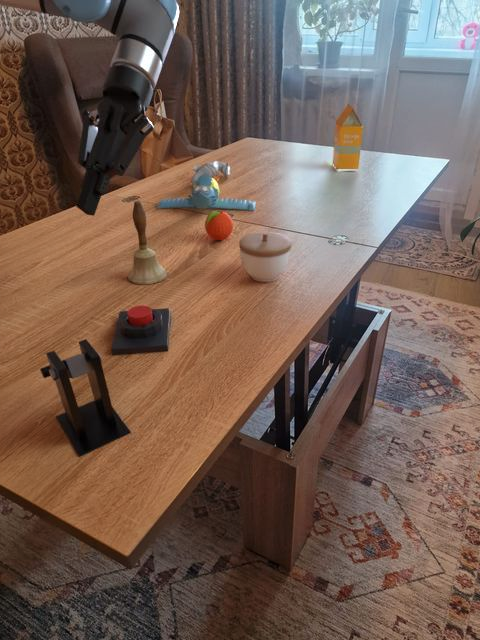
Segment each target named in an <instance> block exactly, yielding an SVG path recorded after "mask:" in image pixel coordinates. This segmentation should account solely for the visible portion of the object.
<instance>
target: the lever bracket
mask: <svg viewBox="0 0 480 640" xmlns="http://www.w3.org/2000/svg"><path fill="white" fill-rule="evenodd" d="M78 346H79V349H80V352H81V353H80V354H84V357H85V359H86V362H87V364H88V367H89V369H90V372H89V373H87V374H86V375H87V378H88V381H89V385H90V389H91V392H92V396H93V400H91V401H90V402H87V403H84V404H82V405H78V402H77V398H76V396H75V392H74V389H73V385H72V382H71V378H69V375H68V372H67V369H66V367H65V365H64V364H63V362H62V359H61V358H60V357H59V355H58V353H57V352H56V351H55V350H52V351H48V352H46V353H45V355H46V357H47V361H48V363H49V365H50V367H51V369H50V370H49V372H50V375H51V376H50V377H51V379H52V381H54V382H55V385H56V389H57V390H58V394H59V398H60V400H61V403H62V406H63V409H64V412H63V413H61V414H58V415H56V416H55V418H56V420H57V422H58V424H59V425H60V427H61V429H62V431H63V432H64V433H65V435H66V437H67V439H68V440H69V443H70V444H71V446H72V448H73V449H74V451H75V453H76V454H77V456H78V457H79V458H81V457H83V456H85V455H87V454H89V453H92V452H94V451H96V450H98V449H100V448H102V447H105V446H106V445H109V444H110V443H113V442H115V441H117V440H119V439H122V438H124V437H125V436H128V435H130V434H131V433H132V431H131V430H130V428H129V427H128V426H127V424H126V423H125V421H124V420H123V419H122V418H121V416H120V415H119V413H118V412H117V411H116V409H115V408H114V407H113V405H112V399H111V397H110V393H109V392H110V391H109V388H108V385H107V379H106V377H105V371H104V369H103V365H102V361H103V360H102V357H101V354H100V353H99V352H98V351H97V350H96V349H95V348H94V346H93V345H92V344H91V343H90V342H89V341H88V339H82V340H79V341H78Z"/></svg>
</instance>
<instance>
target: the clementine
mask: <svg viewBox="0 0 480 640" xmlns="http://www.w3.org/2000/svg"><path fill="white" fill-rule="evenodd" d="M204 229H205V232H206V234H207V235H208V236H209V237H210V238H211V239H214V240H216V241H223V240H226V239H227V238H229V237H230V236H231V235H232V233H233V230H234V222H233V219H232V217H231V216H230V214H228V213H227V212H226V211H224V210H214V211H212V212H211V213H209V214H208V215H207V216H206V219H205V222H204Z"/></svg>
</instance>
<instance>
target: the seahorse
mask: <svg viewBox="0 0 480 640" xmlns="http://www.w3.org/2000/svg"><path fill="white" fill-rule="evenodd" d="M192 170H193V171H194V172H195V173H193V175H192V177H191V181H190V182H191V183H192V185H194V183H195V182H193V181H196V180H197V179H198V177H200V176H202V175H206V174H207V175H208V176H209V175H210V176H211V178H213V177H214V176H216V177H217V175H218V172H220V174H223V176H224V178H225V179H226V180H227V179H229V178H230V171H231V166H230V165H229V162H228V161H227V162H226V163H224V162H222V161H219V160H218V161H217V160H212V161H209V162H206V163H204V164H201V165H195V166H193V168H192Z"/></svg>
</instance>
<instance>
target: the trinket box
mask: <svg viewBox="0 0 480 640" xmlns="http://www.w3.org/2000/svg"><path fill="white" fill-rule="evenodd" d="M238 246H239V253H240V262H241V264H242V267H243V269H244V271H245V272H246V273H247V274H248V275H249V276H250V277H251V279H253V280H254V281H256V282H260V283H270V282H274V281H276V280H278V279H280V276H282V275H283V274H284V273H285V271H286V270H287V268H288V266H289V263H290V261H291V253H292V239H291V238H290V237H288V236H287V235H285V234H282V233H279V232H274V231H256V232H252V233H249V234H246V235H244V236H242V237H241V238H240V239H239V245H238Z"/></svg>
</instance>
